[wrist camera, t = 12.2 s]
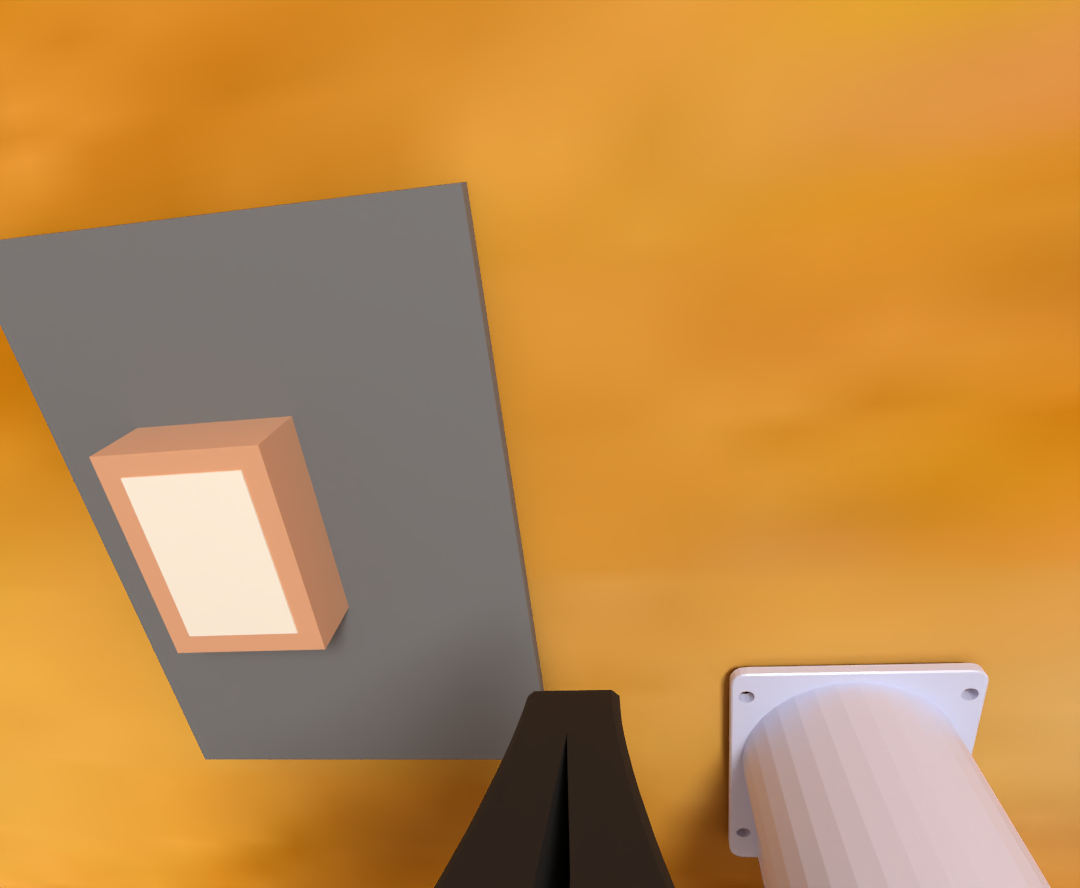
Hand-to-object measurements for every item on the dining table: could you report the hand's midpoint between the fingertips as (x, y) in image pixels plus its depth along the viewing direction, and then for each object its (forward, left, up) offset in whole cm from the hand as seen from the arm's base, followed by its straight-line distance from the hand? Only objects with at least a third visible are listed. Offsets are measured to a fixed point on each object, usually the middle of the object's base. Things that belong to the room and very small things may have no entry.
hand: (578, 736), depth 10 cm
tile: (-1, +9, -8) cm, 12 cm away
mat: (-2, +10, -10) cm, 14 cm away
